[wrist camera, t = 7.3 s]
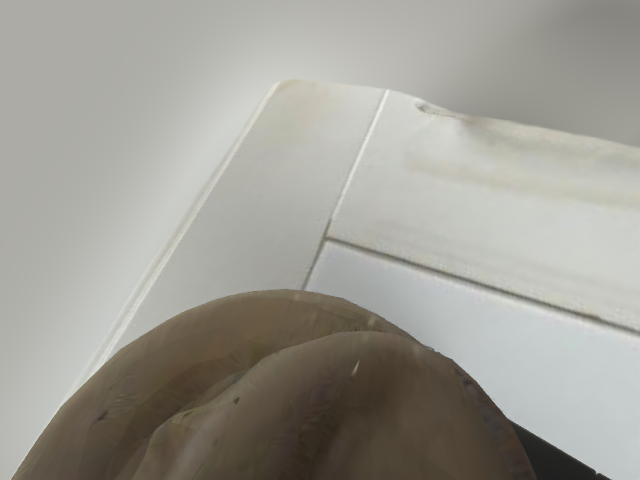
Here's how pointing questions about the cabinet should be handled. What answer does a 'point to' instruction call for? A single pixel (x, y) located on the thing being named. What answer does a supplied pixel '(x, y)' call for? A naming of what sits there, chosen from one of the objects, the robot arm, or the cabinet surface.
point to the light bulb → (278, 403)
